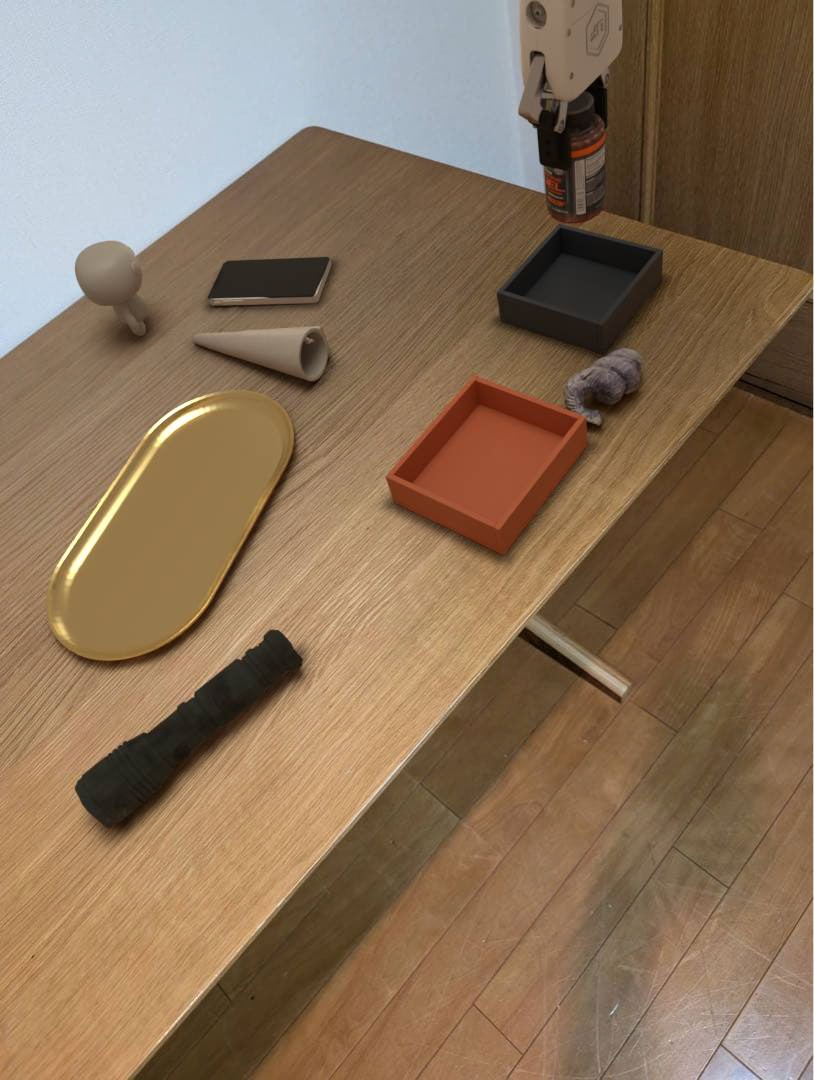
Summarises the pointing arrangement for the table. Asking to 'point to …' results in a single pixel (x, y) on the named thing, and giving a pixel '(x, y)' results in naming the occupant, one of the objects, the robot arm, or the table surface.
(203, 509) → the serving platter
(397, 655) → the table surface
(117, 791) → the flashlight
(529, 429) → the terracotta bin
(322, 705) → the table surface
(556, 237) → the slate bin
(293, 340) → the long tapered cone
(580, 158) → the supplement bottle
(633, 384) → the grey curved ribbed piece
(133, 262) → the figurine
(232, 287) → the smartphone
